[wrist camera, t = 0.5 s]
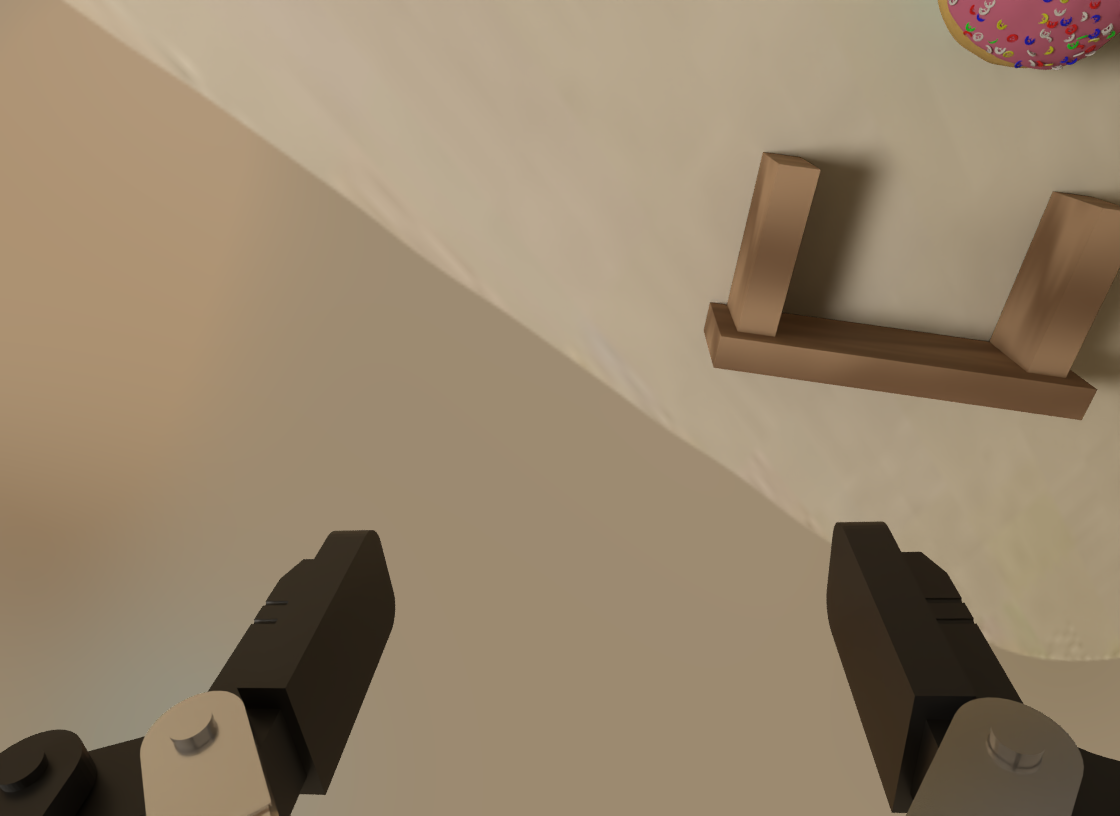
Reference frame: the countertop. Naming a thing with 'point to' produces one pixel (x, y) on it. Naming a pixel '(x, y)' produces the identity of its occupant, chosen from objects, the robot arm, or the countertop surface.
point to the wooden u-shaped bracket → (908, 356)
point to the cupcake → (1032, 29)
